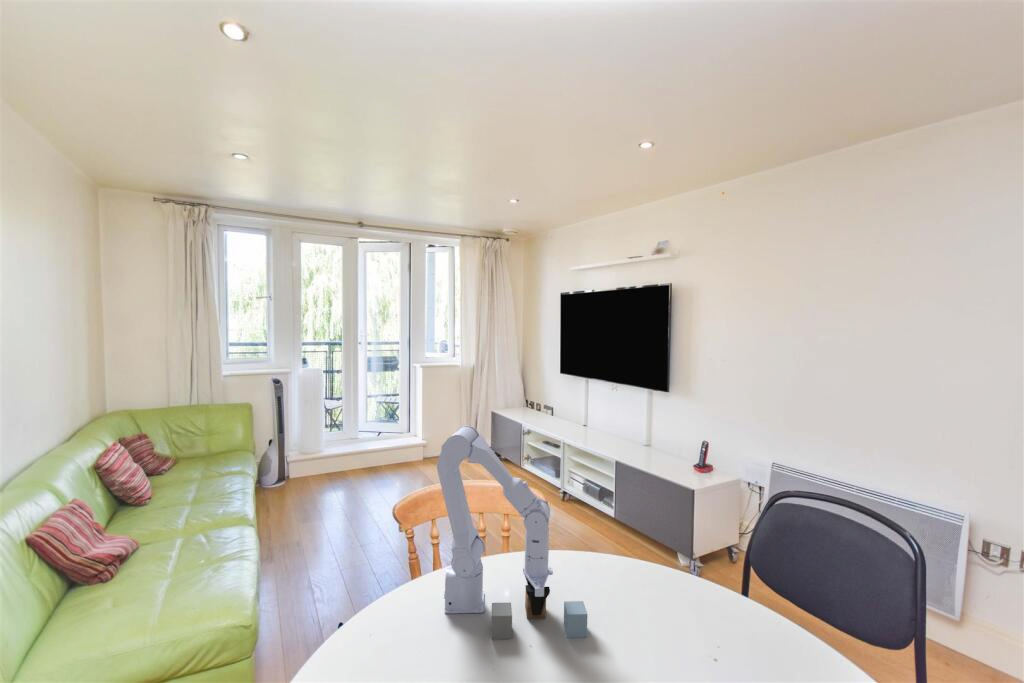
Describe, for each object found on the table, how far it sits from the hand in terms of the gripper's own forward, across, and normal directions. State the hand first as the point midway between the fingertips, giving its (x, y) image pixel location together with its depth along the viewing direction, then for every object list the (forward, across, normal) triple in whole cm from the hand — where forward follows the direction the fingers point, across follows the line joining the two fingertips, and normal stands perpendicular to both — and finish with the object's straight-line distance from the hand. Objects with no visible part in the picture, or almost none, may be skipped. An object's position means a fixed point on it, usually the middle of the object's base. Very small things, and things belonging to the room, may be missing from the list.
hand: (535, 606), depth 110 cm
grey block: (+2, -6, +8) cm, 11 cm away
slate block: (+2, -6, -8) cm, 11 cm away
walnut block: (+2, 0, 0) cm, 2 cm away
